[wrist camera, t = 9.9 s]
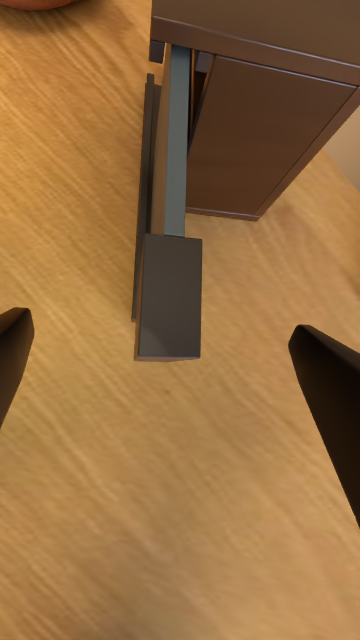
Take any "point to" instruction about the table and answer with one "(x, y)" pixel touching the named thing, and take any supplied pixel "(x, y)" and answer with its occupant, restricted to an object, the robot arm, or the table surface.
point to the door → (170, 234)
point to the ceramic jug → (34, 4)
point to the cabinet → (250, 98)
